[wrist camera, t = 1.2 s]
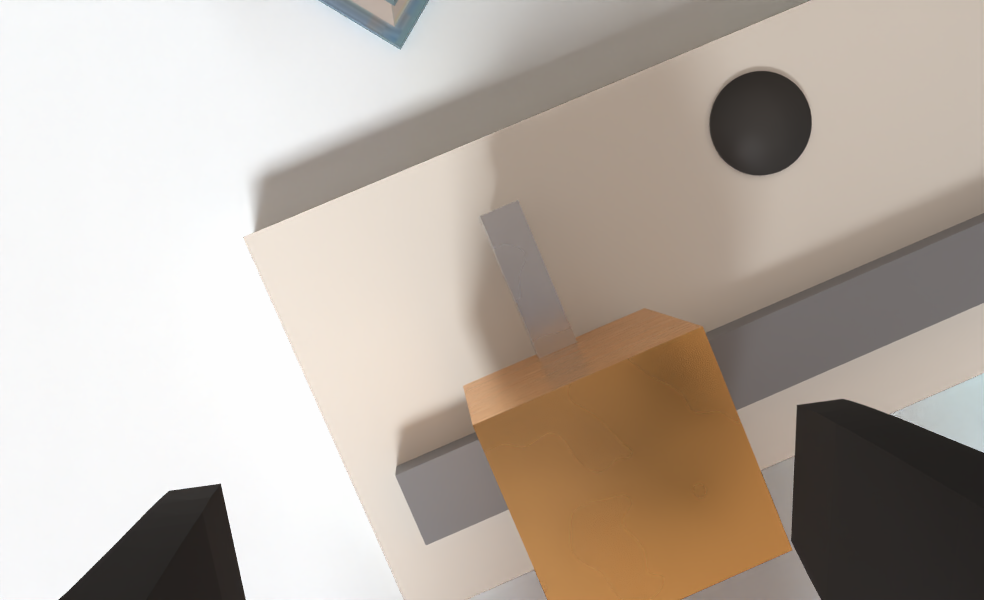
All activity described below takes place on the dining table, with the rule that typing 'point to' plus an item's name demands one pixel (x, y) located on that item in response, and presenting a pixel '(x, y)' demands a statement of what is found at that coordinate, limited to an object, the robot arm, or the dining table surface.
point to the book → (382, 16)
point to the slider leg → (618, 447)
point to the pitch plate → (656, 256)
